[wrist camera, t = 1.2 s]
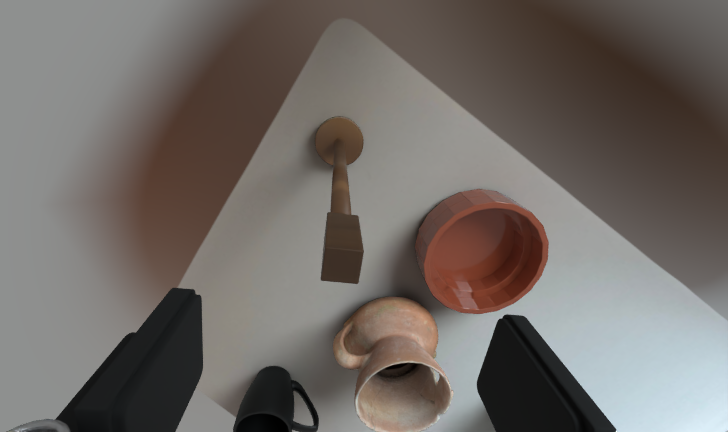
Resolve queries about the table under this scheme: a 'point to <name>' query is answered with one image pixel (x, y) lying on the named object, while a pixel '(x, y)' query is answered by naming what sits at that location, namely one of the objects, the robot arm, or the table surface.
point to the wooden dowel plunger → (340, 201)
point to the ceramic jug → (394, 365)
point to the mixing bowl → (480, 251)
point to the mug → (272, 404)
